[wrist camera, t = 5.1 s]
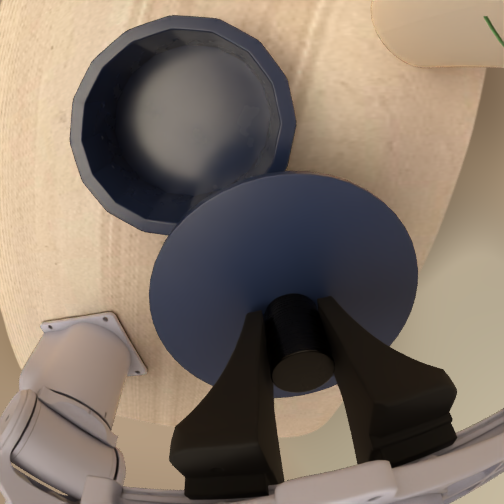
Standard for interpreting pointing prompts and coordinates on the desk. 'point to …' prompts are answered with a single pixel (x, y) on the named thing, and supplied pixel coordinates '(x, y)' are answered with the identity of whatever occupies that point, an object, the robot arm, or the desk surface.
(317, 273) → the tin lid
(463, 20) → the cylindrical container
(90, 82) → the tin
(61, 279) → the desk surface
